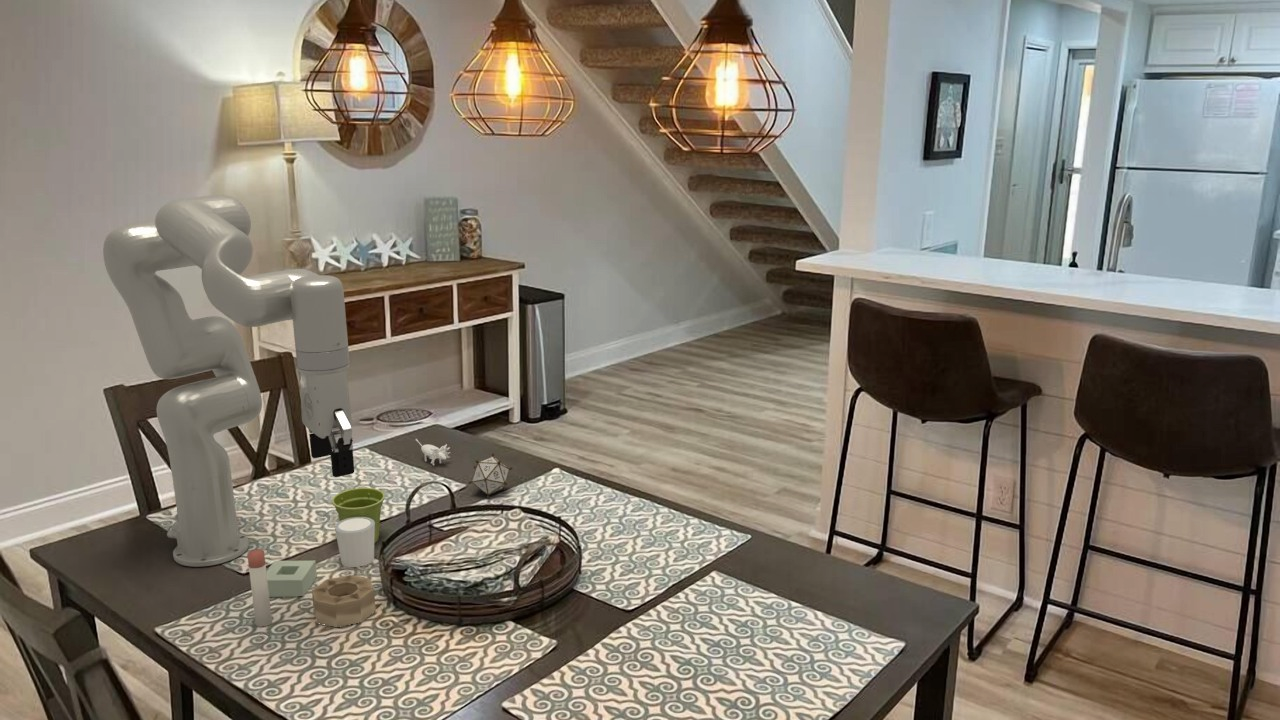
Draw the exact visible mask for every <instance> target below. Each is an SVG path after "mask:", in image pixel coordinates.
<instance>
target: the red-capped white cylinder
mask: <svg viewBox="0 0 1280 720" xmlns="http://www.w3.org/2000/svg"><path fill="white" fill-rule="evenodd" d="M246 555H247V562H248V571H249V580H250V587H251V589H250V590H251V594H252V595H251V598H252V604H253V612H254V620H255V622H254V623H255V626H256V627H259V628H262V626H264V627H267V626H270V625H271V624H272V623H273V617H272V609H271V600H270V597H269V590H268V582H267V573H266V571H267V566H266V565H267V564H266V558H265V557H266V556H265V550H264V549H259V548H258V549H253V550H250V551H249V552H247V554H246ZM271 622H272V623H271ZM269 624H270V625H269Z"/></svg>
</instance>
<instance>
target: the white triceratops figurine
mask: <svg viewBox="0 0 1280 720" xmlns="http://www.w3.org/2000/svg"><path fill="white" fill-rule="evenodd" d="M415 441H416V442H417V443H418V445H420V446H421V448H420V449H421V451H422V453H423V454H424V462H427V461H428V459H427V456H428V458H429V459H430V460H431V462H430V464H432V466H435V465H436V464H435V460H436V459H438V460H439V464H442V460H447V458H449V459H450V456H449V454H451V451H449V450H450V448H451V447H447V446H448V444H447V443H445V445H442V446H441V447H440V448H439V447H438V446H436V445H433V444H430V443H429V444H423V445H422V443H421V442H419V440H418V438H415ZM448 451H449V452H448Z"/></svg>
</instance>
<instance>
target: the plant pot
mask: <svg viewBox="0 0 1280 720" xmlns="http://www.w3.org/2000/svg"><path fill="white" fill-rule="evenodd" d="M385 495H386V494H385V492H384V491H383V490H380V489H378V488H373V487H357V488H351V489H346V490H344V491H341V492H339V493H337V494H336V495H334V496H333V497H332V499H331V504H332V505H333V506H334V508H335V511H336V512H337V514H338V519H339V522H340V521H341V520H344V519H347V518H352V517H367V518H371V519H372V520H374V522H375V537H374V544H376V543H377V542H378V540H379V538H380V526H381V525H380V524H381V511H382V506H383V504H384V503H383V502H384V500H385V498H386V496H385Z"/></svg>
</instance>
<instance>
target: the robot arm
mask: <svg viewBox="0 0 1280 720" xmlns="http://www.w3.org/2000/svg"><path fill="white" fill-rule="evenodd" d="M251 228H252V221H251V218H250V214H249V211H248V209H247V208H246V206H245V205H244V204H243V203H242V202H241V201H239V200H238V199H237V198H235V197H233V196H231V195H225V194H220V195H219V194H218V195H207V196H206V195H205V196H196V197H193V196H192V197H184V198H177V199H174V200H171V201H169V202H167V203H165V204H164V205H163V206H161V207H160V208H159V210H158V211H157V213H156V215H155V218H154V220H146V221H138V222H133V223H129V224H128V223H127V224H125V225H121V226H118V227H116V228H114V229H112V230H111V231H109V233H108V234H107V236H106V237H105V240H104V242H103V248H102V251H103V252H102V254H103V255H102V256H103V262H104V266H105V269H106V271H107V274H108V276H109V278H110V281H111V283H112V284H113V285H114V288H115V289H116V290H117V292H118V294H119V296H120V297H121V298H122V300H123V301H124V303H125V304H126V307H127V308H128V310H129V313H130V315H131V317H132V321H133V324H134V328H135V330H136V332H137V336H138V338H139V340H140V343H141V346H142V349H143V351H144V355H145V358H146V360H147V362H148V365H149V368H150V369H151V371H152V372H153V373H154V375H155V376H156V377H158V378H160V379H163V380H174V379H180V378H186V377H189V376H195V375H197V374H202V373H206V372H211V371H212V372H213V373H214V376H215V377H211V378H207V379H202V380H198V381H193V382H190V383H186V384H182V385H179V386H176V387H173V388H171V389H170V390H168V391H166V392H165V393H164V394H163V395H162V396H161V397H160V398H159V399H158V401H157V404H156V416H157V417H156V418H157V420H158V423H159V427H160V429H161V432H162V434H163V435H162V436H163V437H164V441H165V444H166V448H167V453H168V458H169V463H170V464H169V465H170V470H171V476H172V485H173V491H174V492H173V493H174V498H175V507H176V513H177V521H175V522H174V523H172V525H171V529H169V530H168V531H167V533H166V536H167V537H168V538H169V539H176V542H177V545H176V546H175V548H174V549H173V550H172V556H173V560H174V561H175V562H176V563H177V564H178V565H181V566H186V567H194V568H198V567H199V568H200V567H210V566H216V565H220V564H223V563H226V562H227V563H228V562H229V561H232V560H235V559H237V558H238V557H241V556H242V555H243V554H244V553H245V552H246V551H247V550H248V549H249V546H250V541H249V536H247V535H246V534H243V533H242V532H239V527H238V526H239V525H238V520H237V510H236V502H235V501H236V500H235V495H234V494H235V493H234V486H233V480H232V479H233V477H232V469H231V461H230V457H229V454H228V452H227V449H225V448H224V447H223V446H222V445H221V444H220V443H219V442H217V441H216V439H215V437H214V435H216V434H218V433H220V432H223V431H226V430H229V429H233V428H235V427H239V426H242V425H245V424H248V423H250V422H253V421H255V419H257V418H258V417H259V416H260V414H261V412H262V407H263V399H262V392H261V390H260V387H259V384H258V380H257V377H256V375H255V372H254V369H253V366H252V364H251V361H250V358H249V355H248V351H247V349H246V346H245V344H244V343H245V342H244V341H243V339H242V336H241V334H240V332H239V330H238V329H237V328H236V326H235V325H234V323H232V322H231V321H233V322H235V323H236V324H239V325H241V326H243V327H244V326H245V327H249V328H258V327H263V326H267V325H272V324H276V323H280V322H284V321H292V328H293V337H294V345H295V346H294V348H295V357H296V366H297V368H296V369H297V372H299V373H300V374H299V375H300V376H299V377H300V378H299V380H300V381H299V384H300V385H299V386H300V387H299V389H300V391H299V392H300V409H301V411H300V412H301V422H302V424H303V426H305V427H306V428H307V429H308V432H309V434H308V435H309V436H308V437H309V444H310V445H309V446H310V455H311V457H312V459H319V458H323V457H328V456H330V463H331V475H332V476H333V477H334V478H339V477H344V476H347V475H352V474H354V473H355V463H354V451H353V449H354V446H353V442H354V440H353V437H352V435H353V419H352V418H353V417H352V408H351V407H352V405H351V399H350V391H349V390H350V389H349V385H348V384H349V383H348V378H347V373H346V370H347V369H349V368H350V367H351V366H350V353H349V341H348V327H347V317H346V316H347V315H346V304H345V294H344V293H345V291H344V286H343V283H342V281H341V279H339V277H336V276H333V275H322V274H321V275H319V274H318V273H315V272H314V271H311V270H308V269H305V268H293V269H292V268H291V269H290V268H289V269H285V270H280V271H271V272H265V273H259V274H254V275H248V276H244V275H241V274H243V272H245V271H246V269H247V268H248V266H249V264H250V263H251V260H252V257H253V251H254V250H253V249H254V248H253V244H252V241H251V239H250V237H249V235H250V233H251V230H252V229H251ZM195 266H197V267H198V268H199V269H201V282H202V286H203V290H204V292H205V294H206V297H207V298H208V301H209V302H210V303H211V305H212V306H213V307H214V308H215V309H216V310H218V311H219V312H220V313H222V314H223V315H224V316H226V317H227V318H228V319H230V320H231V321H230V320H228V319H227V318H224V317H222V316H215V315H214V316H206V317H205V316H204V317H201V318H200V317H199V318H197V319H196V318H195V319H192V317H190V316H189V314H188V311H187V309H186V306H185V303H184V302H185V301H184V300H183V297H182V295H181V294H180V292H178V290H177V289H176V288H175V287H174V286H173V285H172V284H170V282H168V281H167V280H166V279H164V278H163V277H161V276H159V275H158V274H156V272H159V271H166V270H174V269H179V268H187V267H195ZM336 438H338V439H337V440H336Z"/></svg>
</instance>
